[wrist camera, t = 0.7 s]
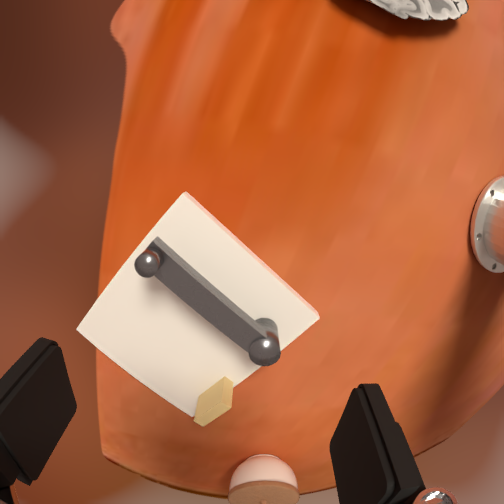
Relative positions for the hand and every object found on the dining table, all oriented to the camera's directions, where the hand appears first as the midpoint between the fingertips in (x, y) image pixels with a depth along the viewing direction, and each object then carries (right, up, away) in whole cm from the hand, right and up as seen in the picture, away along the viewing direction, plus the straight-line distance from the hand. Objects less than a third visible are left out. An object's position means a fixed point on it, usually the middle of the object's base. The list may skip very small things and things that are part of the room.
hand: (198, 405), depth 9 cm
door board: (-6, -3, +26) cm, 27 cm away
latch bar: (-2, +1, +23) cm, 23 cm away
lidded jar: (+3, -30, +35) cm, 46 cm away
